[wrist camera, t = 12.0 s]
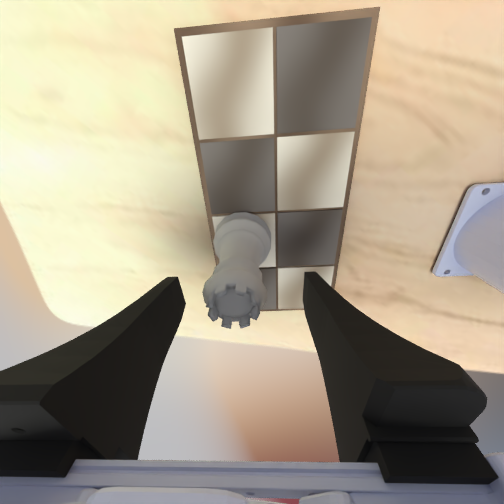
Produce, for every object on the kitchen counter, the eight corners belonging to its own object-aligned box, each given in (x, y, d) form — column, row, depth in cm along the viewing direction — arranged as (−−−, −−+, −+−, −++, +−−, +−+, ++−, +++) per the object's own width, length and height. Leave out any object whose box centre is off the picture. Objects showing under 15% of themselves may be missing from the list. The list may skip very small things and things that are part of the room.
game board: (372, 15, 11) (382, 4, 10) (328, 303, 21) (331, 310, 20) (178, 35, 12) (172, 27, 11) (225, 306, 22) (224, 313, 21)
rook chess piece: (276, 254, 17) (289, 334, 10) (225, 265, 18) (205, 347, 11) (263, 203, 15) (269, 260, 8) (207, 217, 16) (167, 282, 9)
